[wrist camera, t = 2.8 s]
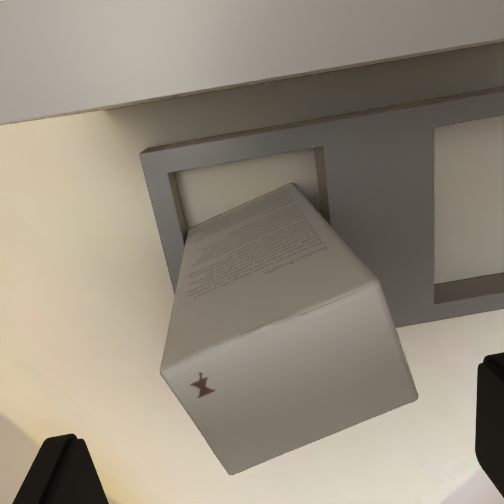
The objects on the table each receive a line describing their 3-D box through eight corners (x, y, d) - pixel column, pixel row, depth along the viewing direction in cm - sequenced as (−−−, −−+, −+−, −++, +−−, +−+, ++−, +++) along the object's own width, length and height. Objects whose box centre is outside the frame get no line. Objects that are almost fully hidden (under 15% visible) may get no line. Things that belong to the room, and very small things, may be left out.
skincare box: (222, 294, 23) (223, 483, 12) (186, 227, 22) (149, 371, 10) (324, 250, 23) (426, 404, 11) (295, 178, 21) (379, 274, 10)
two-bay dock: (621, -27, 19) (1208, -203, 8) (579, 274, 24) (888, 431, 13) (91, 62, 19) (-105, 18, 7) (168, 347, 24) (122, 568, 13)
